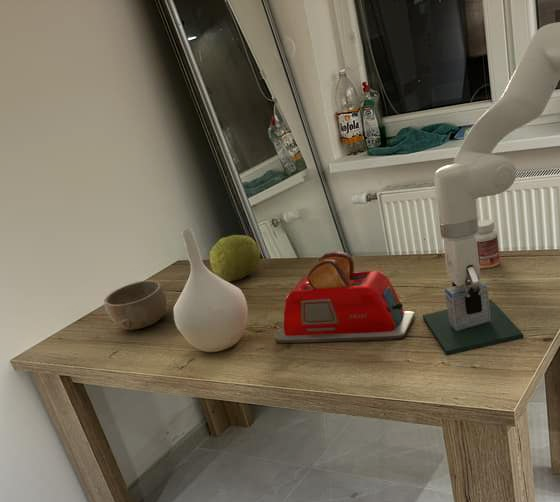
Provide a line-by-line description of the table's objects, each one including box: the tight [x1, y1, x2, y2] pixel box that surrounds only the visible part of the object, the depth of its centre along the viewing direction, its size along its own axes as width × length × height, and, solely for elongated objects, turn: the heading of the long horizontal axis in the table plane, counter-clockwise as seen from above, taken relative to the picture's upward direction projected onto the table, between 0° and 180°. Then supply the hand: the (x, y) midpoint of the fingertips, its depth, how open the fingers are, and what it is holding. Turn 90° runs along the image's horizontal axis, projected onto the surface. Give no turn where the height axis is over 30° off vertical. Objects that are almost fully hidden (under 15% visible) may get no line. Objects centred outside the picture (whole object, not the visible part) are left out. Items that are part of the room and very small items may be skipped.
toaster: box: [274, 251, 416, 344], centre depth 158 cm, size 32×13×19 cm, turn 68°
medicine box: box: [444, 280, 491, 331], centre depth 146 cm, size 8×4×9 cm, turn 99°
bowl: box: [103, 280, 167, 331], centre depth 196 cm, size 17×18×10 cm
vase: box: [173, 228, 249, 353], centre depth 166 cm, size 18×18×30 cm
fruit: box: [209, 234, 261, 283], centre depth 213 cm, size 16×14×15 cm
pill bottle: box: [475, 219, 501, 269], centre depth 176 cm, size 6×6×11 cm
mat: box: [422, 299, 524, 356], centre depth 148 cm, size 16×20×1 cm
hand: (467, 304), depth 146 cm, fingers open, 8 cm apart
